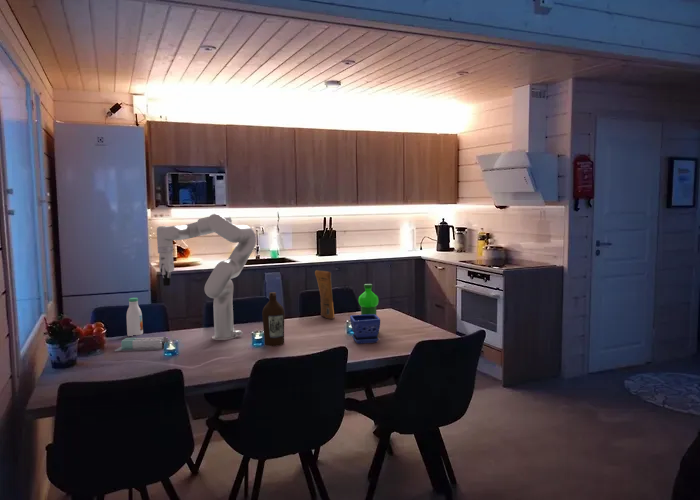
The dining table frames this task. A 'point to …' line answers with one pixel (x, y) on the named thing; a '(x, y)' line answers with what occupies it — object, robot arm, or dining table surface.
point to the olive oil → (273, 322)
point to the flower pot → (365, 328)
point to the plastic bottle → (368, 301)
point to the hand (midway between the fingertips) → (167, 285)
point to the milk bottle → (134, 318)
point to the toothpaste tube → (146, 338)
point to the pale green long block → (143, 344)
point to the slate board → (141, 349)
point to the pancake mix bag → (325, 293)
